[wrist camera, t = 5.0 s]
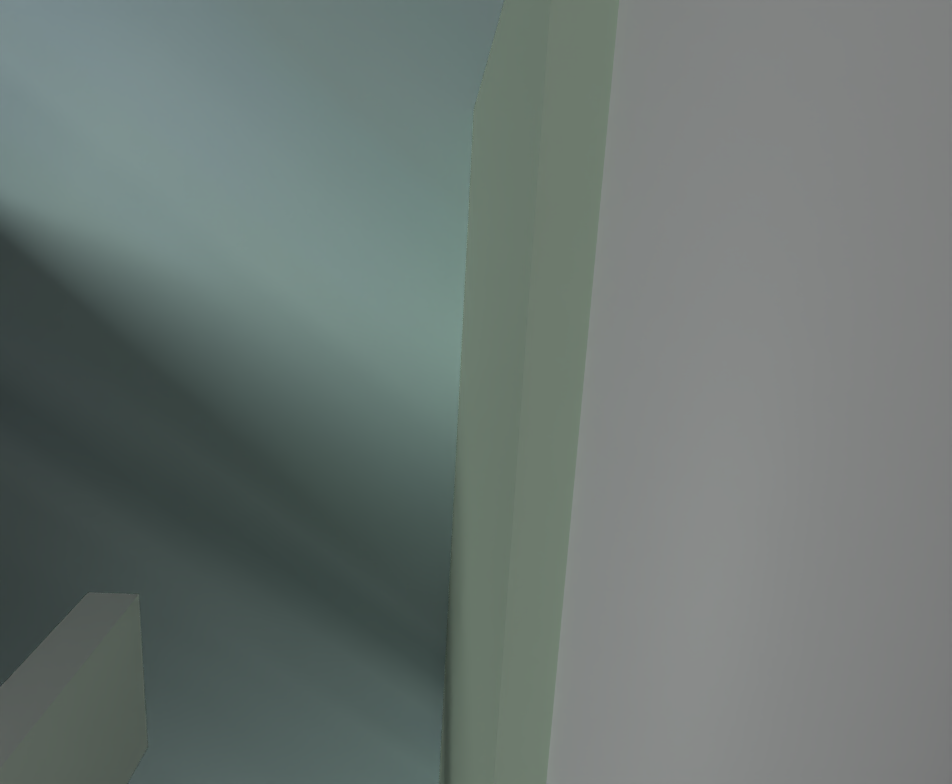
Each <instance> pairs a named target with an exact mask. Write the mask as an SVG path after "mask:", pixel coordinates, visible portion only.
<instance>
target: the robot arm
mask: <svg viewBox="0 0 952 784" xmlns="http://www.w3.org/2000/svg"><path fill="white" fill-rule="evenodd" d="M147 748H148V741H147V724H146V707H145V689H144V672H143V655H142V638H141V621H140V603H139V594H123V593H96V592H88V593H87V594H86V595H85V596H84V597H83V598H82V600H81V601H80V602H79V603H78V604H77V605H76V606H75V607H74V608H73V609H72V610H71V611H70V612H69V614H68V615H67V616H66V617H65V618H64V619H63V620H62V621H61V622H60V623H59V624H58V625H57V626H56V628H55V629H54V630H53V631H52V632H51V633H50V634H49V635H48V636H47V637H46V638H45V639H44V640H43V642H42V643H41V644H40V645H39V646H38V647H37V648H36V649H35V650H34V651H33V652H32V653H31V654H30V655H29V657H28V658H27V659H26V660H25V661H24V662H23V663H22V664H21V665H20V666H19V667H18V668H17V669H16V671H15V672H14V673H13V674H12V675H11V676H10V677H9V678H8V679H7V680H6V681H5V682H4V683H3V685H2V686H1V687H0V784H128V782H129V780H130V778H131V776H132V775H133V773H134V771H135V769H136V767H137V766H138V764H139V762H140V760H141V759H142V757H143V755H144V753H145V751H146V750H147Z"/></svg>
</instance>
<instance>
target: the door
mask: <svg viewBox="0 0 952 784" xmlns="http://www.w3.org/2000/svg"><path fill="white" fill-rule="evenodd" d="M439 784H952V0H504V4H503V7H502V11H501V15H500V18H499V22H498V25H497V29H496V32H495V36H494V39H493V43H492V47H491V50H490V54H489V57H488V61H487V64H486V68H485V71H484V75H483V78H482V82H481V86H480V89H479V93H478V96H477V100H476V103H475V107H474V115H473V135H472V154H471V174H470V193H469V212H468V232H467V251H466V271H465V290H464V309H463V329H462V348H461V368H460V387H459V406H458V426H457V445H456V465H455V484H454V503H453V523H452V542H451V562H450V581H449V601H448V620H447V639H446V659H445V678H444V698H443V717H442V736H441V756H440V775H439Z"/></svg>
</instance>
